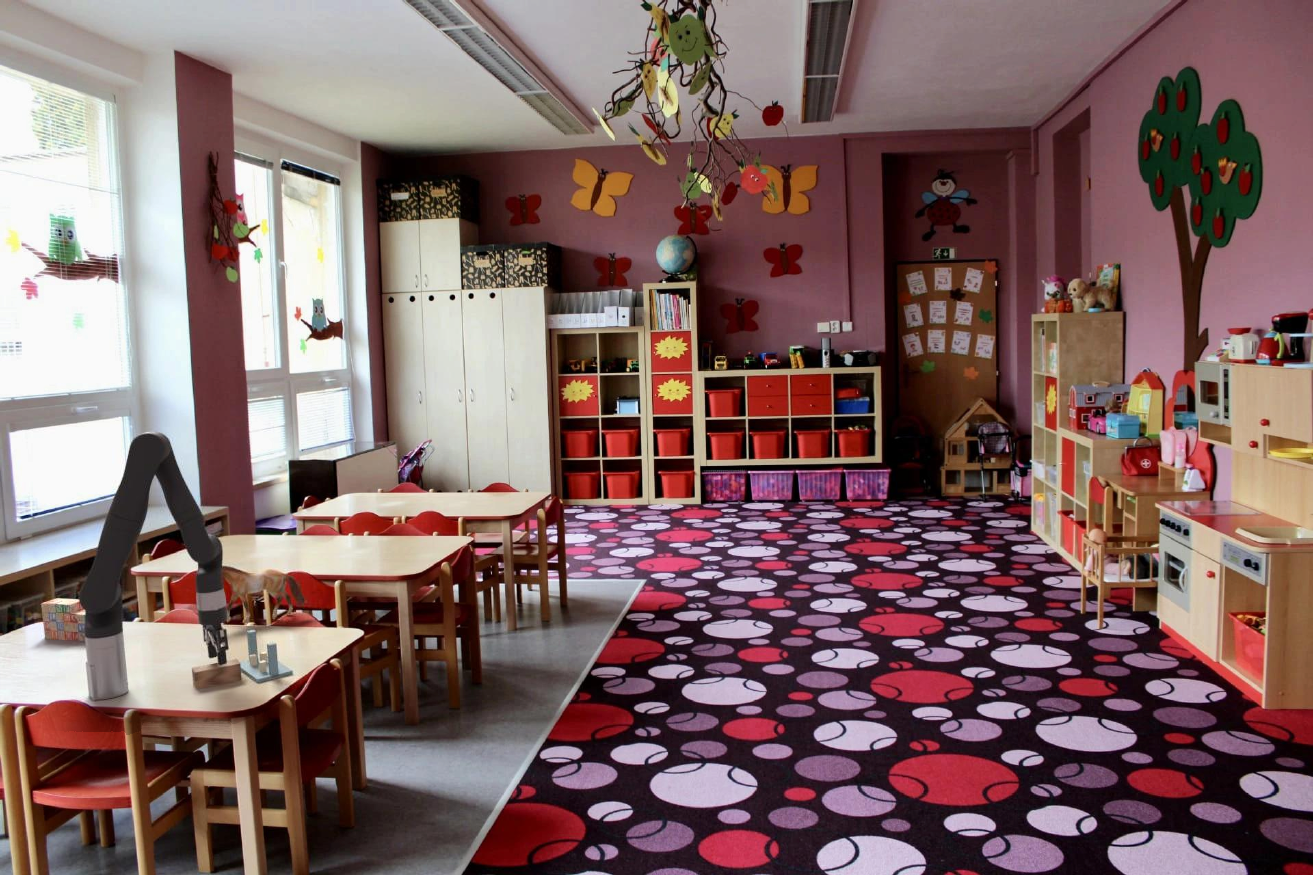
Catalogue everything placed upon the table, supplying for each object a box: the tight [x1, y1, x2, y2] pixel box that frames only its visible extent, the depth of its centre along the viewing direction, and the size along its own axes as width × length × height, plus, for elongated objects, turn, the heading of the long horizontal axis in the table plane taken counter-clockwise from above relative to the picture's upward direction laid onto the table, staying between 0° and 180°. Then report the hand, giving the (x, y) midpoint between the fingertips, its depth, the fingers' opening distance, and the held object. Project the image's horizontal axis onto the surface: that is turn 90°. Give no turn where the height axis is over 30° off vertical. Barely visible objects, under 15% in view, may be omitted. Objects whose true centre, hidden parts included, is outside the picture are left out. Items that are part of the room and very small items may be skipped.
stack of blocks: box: [40, 597, 86, 642], centre depth 325 cm, size 21×6×12 cm, turn 72°
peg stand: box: [239, 629, 294, 683], centre depth 286 cm, size 10×19×10 cm, turn 41°
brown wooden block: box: [191, 658, 243, 690], centre depth 278 cm, size 12×5×5 cm, turn 124°
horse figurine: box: [222, 565, 308, 624], centre depth 339 cm, size 31×8×21 cm, turn 104°
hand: (217, 660), depth 278 cm, fingers open, 8 cm apart
